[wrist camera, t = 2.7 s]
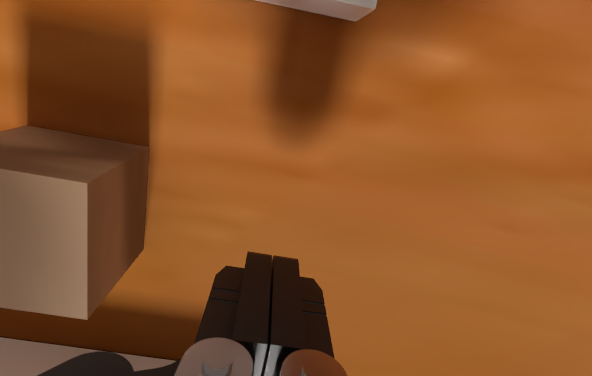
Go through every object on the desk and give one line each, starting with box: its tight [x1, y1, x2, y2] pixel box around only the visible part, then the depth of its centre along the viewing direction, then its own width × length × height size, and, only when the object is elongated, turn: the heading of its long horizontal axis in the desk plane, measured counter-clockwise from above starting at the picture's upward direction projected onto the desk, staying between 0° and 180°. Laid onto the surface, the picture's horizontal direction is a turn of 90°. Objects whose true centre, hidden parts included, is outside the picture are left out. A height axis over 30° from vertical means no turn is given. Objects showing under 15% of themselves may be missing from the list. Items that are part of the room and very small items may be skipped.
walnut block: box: [0, 125, 149, 320], centre depth 12 cm, size 4×4×4 cm
